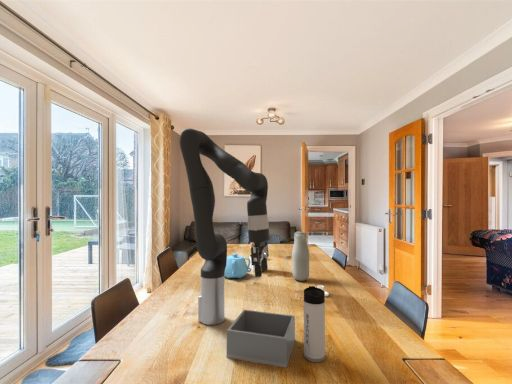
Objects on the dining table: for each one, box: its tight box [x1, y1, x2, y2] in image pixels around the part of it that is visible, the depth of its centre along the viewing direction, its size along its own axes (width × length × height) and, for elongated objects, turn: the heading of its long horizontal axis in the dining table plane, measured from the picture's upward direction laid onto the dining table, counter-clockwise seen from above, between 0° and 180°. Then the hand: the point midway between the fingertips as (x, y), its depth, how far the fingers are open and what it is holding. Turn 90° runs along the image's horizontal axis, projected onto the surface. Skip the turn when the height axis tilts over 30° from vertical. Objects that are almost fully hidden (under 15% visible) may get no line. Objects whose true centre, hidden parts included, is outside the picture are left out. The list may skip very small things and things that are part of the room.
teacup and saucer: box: [316, 284, 330, 297], centre depth 139 cm, size 9×8×4 cm
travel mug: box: [303, 285, 326, 363], centre depth 85 cm, size 6×7×20 cm
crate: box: [226, 309, 296, 368], centre depth 89 cm, size 18×16×8 cm
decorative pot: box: [225, 253, 252, 279], centre depth 170 cm, size 16×16×14 cm
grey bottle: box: [291, 230, 310, 282], centre depth 162 cm, size 10×10×28 cm
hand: (261, 273), depth 100 cm, fingers open, 8 cm apart
